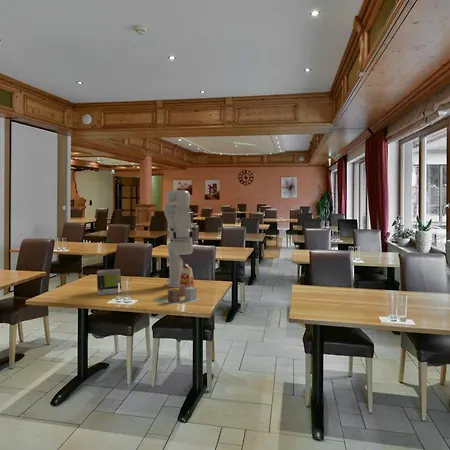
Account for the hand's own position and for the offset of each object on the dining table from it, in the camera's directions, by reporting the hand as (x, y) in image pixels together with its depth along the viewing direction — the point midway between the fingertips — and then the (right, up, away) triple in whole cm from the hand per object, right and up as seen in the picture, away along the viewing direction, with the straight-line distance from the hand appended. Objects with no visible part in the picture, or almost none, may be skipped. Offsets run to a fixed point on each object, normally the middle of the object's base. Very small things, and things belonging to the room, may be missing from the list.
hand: (182, 238), depth 248 cm
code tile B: (+5, -38, -4) cm, 38 cm away
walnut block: (-4, -38, -9) cm, 39 cm away
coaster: (-13, -38, -5) cm, 40 cm away
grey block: (+5, -37, -4) cm, 38 cm away
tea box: (-50, -37, +15) cm, 64 cm away
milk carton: (+1, -37, +13) cm, 39 cm away
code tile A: (-4, -38, -9) cm, 39 cm away
